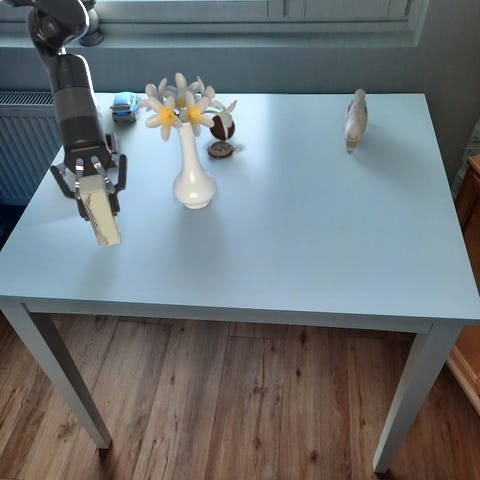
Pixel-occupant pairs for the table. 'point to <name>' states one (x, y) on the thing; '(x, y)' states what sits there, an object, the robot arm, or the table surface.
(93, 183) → the box
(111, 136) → the holder
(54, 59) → the robot arm
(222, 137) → the compass
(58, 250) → the table surface
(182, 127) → the flower vase
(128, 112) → the toy car
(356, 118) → the decorative bird
